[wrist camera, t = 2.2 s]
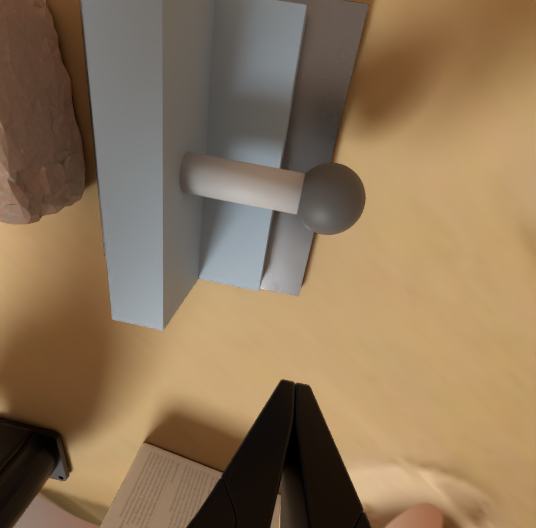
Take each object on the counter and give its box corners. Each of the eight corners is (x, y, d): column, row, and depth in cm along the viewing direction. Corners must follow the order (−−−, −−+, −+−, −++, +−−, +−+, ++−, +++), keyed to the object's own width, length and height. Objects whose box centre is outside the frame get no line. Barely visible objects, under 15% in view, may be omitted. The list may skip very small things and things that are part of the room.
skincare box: (89, 555, 22) (250, 615, 22) (96, 529, 20) (272, 597, 20) (135, 465, 27) (264, 516, 28) (144, 438, 25) (283, 493, 26)
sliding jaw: (323, 293, 16) (326, 366, 12) (167, 261, 16) (112, 319, 12) (399, 27, 11) (456, -25, 6) (169, -10, 11) (73, -83, 7)
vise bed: (299, 290, 17) (298, 296, 16) (110, 251, 17) (104, 256, 17) (366, 9, 11) (368, 4, 11) (85, -36, 12) (75, -42, 11)
